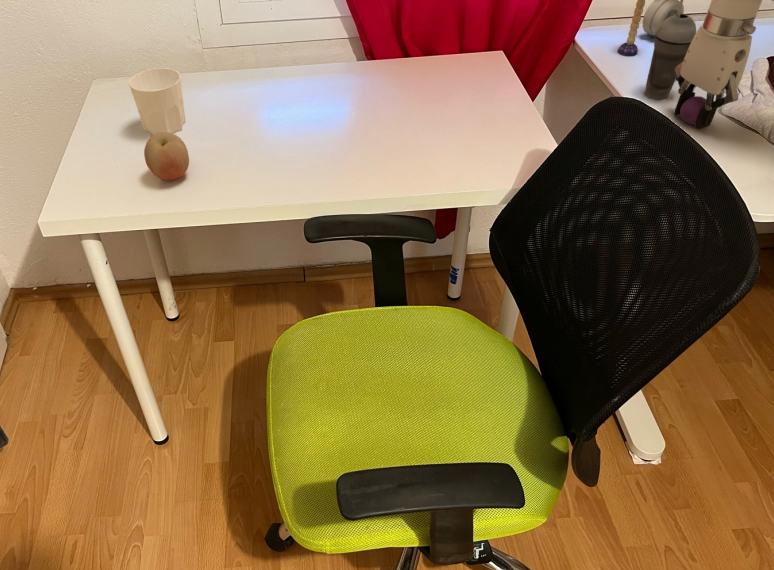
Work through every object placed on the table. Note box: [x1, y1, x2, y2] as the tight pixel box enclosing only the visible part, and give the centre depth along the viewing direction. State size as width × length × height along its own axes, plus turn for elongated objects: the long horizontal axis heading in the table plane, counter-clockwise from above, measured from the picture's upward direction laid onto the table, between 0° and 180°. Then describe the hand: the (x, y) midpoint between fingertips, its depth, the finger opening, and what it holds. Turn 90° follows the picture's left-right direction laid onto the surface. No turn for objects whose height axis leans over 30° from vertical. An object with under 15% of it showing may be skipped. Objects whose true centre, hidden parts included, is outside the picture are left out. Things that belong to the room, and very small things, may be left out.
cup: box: [128, 67, 187, 136], centre depth 137 cm, size 10×10×10 cm
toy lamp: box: [617, 0, 646, 57], centre depth 148 cm, size 5×5×17 cm
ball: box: [679, 95, 706, 125], centre depth 130 cm, size 5×5×5 cm
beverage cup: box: [644, 0, 697, 100], centre depth 133 cm, size 7×7×20 cm
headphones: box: [642, 0, 685, 36], centre depth 147 cm, size 20×8×19 cm, turn 28°
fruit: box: [143, 132, 190, 182], centre depth 124 cm, size 8×8×8 cm
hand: (691, 119), depth 131 cm, fingers closed on ball, 4 cm apart
